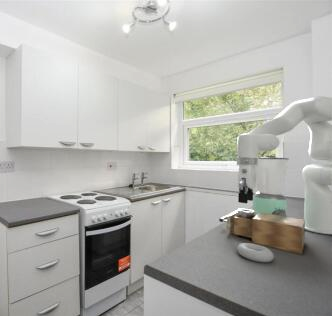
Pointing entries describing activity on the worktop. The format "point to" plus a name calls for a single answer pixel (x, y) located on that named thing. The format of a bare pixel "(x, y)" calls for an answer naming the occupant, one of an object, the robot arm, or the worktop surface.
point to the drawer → (238, 224)
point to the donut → (255, 252)
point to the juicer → (270, 186)
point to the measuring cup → (246, 213)
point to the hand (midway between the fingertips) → (245, 201)
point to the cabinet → (279, 232)
